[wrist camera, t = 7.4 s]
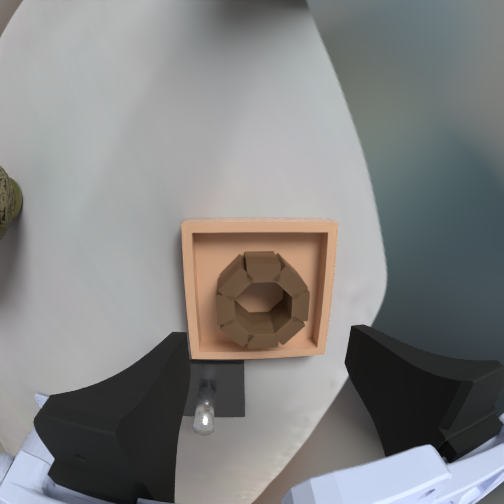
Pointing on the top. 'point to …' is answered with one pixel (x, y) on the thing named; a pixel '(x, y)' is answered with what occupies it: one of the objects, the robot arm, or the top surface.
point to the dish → (257, 294)
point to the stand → (215, 392)
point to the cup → (8, 201)
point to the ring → (261, 323)
